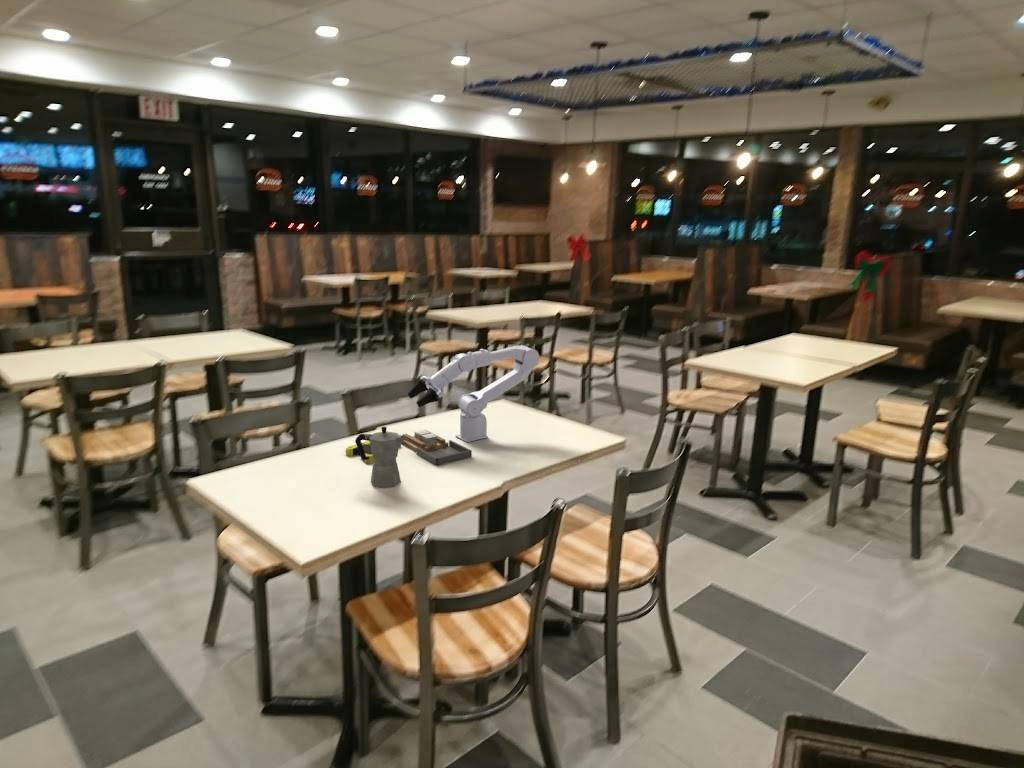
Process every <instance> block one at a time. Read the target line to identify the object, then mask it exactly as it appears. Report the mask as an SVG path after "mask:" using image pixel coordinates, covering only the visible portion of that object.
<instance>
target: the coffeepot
mask: <svg viewBox="0 0 1024 768" xmlns="http://www.w3.org/2000/svg"><path fill="white" fill-rule="evenodd" d="M380 428H381V431H379V432H374V433H360V434H359V435H358V436H356V437H355V440H354V442H355V445H357V447H358V450H359V452H360V454H359V455H360V458H361V457H362V458H361V460H363V459H364V460H369V457H366V456H365V451H364V449H363V446H362V443H363V442H362V441H365V442H366V441H370V445H371V450H372V455H373V458H374V462H373V464H372V470H371V477H370V483H371V485H372V486H373V487H374V488H378V489H388V488H389V489H390V488H393V487H396V486H399V484H400V483H402V481H401V480H402V479H401V475H400V471H399V466H398V462H397V457H399V456H398V455H399V454H398V453H399V449H400V448H401V447H400V446H402V445H403V444H402V442H403V441H404V440H405V439H406V437H405V436H403V434H402V435H401V434H399V433H398V432H393V431H387V428H388V427H387V426H382V427H380ZM364 460H363V461H364Z"/></svg>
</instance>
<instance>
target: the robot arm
mask: <svg viewBox="0 0 1024 768" xmlns="http://www.w3.org/2000/svg"><path fill="white" fill-rule="evenodd" d="M508 359H514V361H513V362H514V368H513V370H511V371H509V372H508V373H507V374H504V375H503V376H501V377H500V378H497V379H496V380H494V381H493V382H492V383H489V385H487V386H485V387H483V388H482V389H480V390H477V391H472V392H470V393H468V394H466V393H465V394H463V395H461V396H460V397H459V398H458V401H457V406H458V408H459V410H460V413H459V414H460V415H459V416H460V417H459V421H460V422H459V423H460V424H459V425H460V426H459V427H460V431H459V433H460V434H456V435H455V437H456V438H457V439H459V440H462V441H463V442H466V443H470V442H473V441H479V440H482V439H487V438H489V436H488V435H487V433H488V431H487V428H488V427H487V426H488V422H487V417H486V415H485V414H484V413H483V411H484V410H485V409H486V408H488V407H487V406H488V403H490V402H491V401H493V400H495V399H496V398H498V397H499V396H500V395H501V396H502V394H504V393H506V392H508V391H509V390H510V389H512V388H514V387H515V386H517V385H518V384H520V383H522V382H523V381H524V380H526V379H528V377H529V375H530V374H531V372H532V371H533V369H534V368H535V367H537V366H538V365H539V359H540V354H539V352H538V350H537V349H535V348H531V347H528V346H526V345H525V344H520V345H512V346H510V347H509V346H508V347H506V348H502V349H497V350H493V351H488V349H484V348H480V349H479V350H477V351H474V352H473V351H468V352H467V354H466V353H463V352H462V353H459V354H458V353H457V354H455V356H454V357H453V359H452V361H451V362H449V363H447V364H446V365H444V367H442V368H441V369H440V370H438V371H437V372H435V373H434V374H433V375H432V376H426V375H423V376H421V377H418V378H417V379H416V381H415V383H414V385H413V386H412V387H411V389H410V390H409V391H408V392H407V396H408V397H409V398H410V399H413V398H414V397H416V396H417V395H419V394H422V393H423V392H425V393H424V394H423V395H422V396H421V397H420V398H419V399H418V400H417V401H416V402H415V403H416V404H417V406H418V408H421V407H424V406H425V405H428V404H431V403H435V402H439V401H440V398H442V397H444V396H445V394H444V392H443V391H442V389H444V388H445V387H447V386H448V385H449V384H450V383H452V382H453V381H454V380H456V379H457V378H458V377H460V376H461V375H462V374H463V373H464V372H469V373H470V372H471V371H472V370H473V369H476V368H481V367H482V368H483V367H487V366H490V365H491V364H492V362H494V361H500V360H508Z"/></svg>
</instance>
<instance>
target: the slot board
mask: <svg viewBox="0 0 1024 768" xmlns="http://www.w3.org/2000/svg"><path fill="white" fill-rule="evenodd" d="M425 430H426V431H428V432H430V434H431V433H432V434H434V435H436V436H437V445H432V446H428V447H427V446H426V444H425V443H423V442H421V441H419V440H417V439H416V438H415V435H413V436H412V435H409V434H408V433H402V436H405V437H406V439H405V440H404V441H403V442H402V444H401V445H403V446H405V447H406V448H408V449H410V450H412V451H413V452H415V453H416V448H417V447H419V448H420V449H422V450H424V451H428V450H432V449H437V448H441V447H446V446H449V442H446V439H445V438H443V437H441V436H439V435H437V434H436V433H433V432H431V431H429V430H427V429H425Z"/></svg>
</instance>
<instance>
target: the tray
mask: <svg viewBox="0 0 1024 768" xmlns="http://www.w3.org/2000/svg"><path fill="white" fill-rule="evenodd" d="M415 455H417V456H419V457H421V458H423V459H424V460H425V461H427V462H429V463H431V464H433V465H434V466H441V465H444V464H449V463H453V462H458V461H460V460H461V461H462V460H465V459H469V458H472V457H473V453H472V449H469V448H467V447H465V446H463V445H461V444H460V443H457V442H455V441H453V440H451V439H450V440H448V446H446V447H441V448H437V449H432V450H428V451H424V450H422V449H420V448H419V447H417V448H416V452H415Z"/></svg>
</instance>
